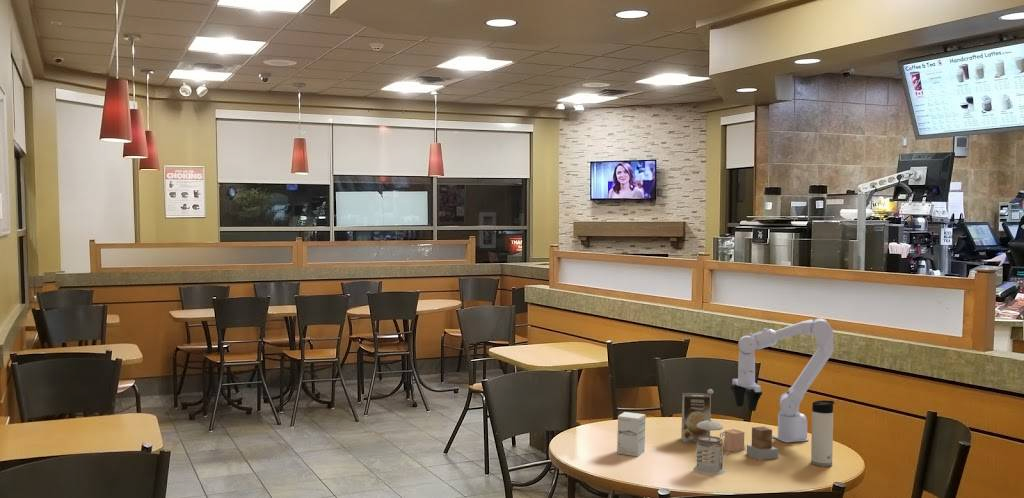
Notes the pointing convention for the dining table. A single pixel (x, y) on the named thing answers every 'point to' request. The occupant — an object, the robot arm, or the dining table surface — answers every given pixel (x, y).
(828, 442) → the travel mug
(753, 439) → the walnut block
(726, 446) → the terracotta block
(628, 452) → the supplement box
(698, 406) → the coffee box
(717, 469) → the french press
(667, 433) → the dining table surface
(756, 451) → the base block
